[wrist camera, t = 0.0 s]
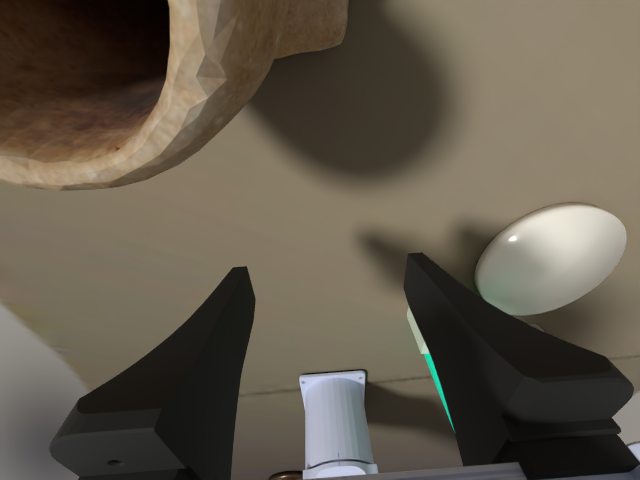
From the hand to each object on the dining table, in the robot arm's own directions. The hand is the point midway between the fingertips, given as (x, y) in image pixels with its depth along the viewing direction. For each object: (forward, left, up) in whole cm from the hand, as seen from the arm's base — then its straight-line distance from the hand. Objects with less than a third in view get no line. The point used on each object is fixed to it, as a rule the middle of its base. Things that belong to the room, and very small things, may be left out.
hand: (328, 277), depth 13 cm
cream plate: (-9, -20, -10) cm, 24 cm away
